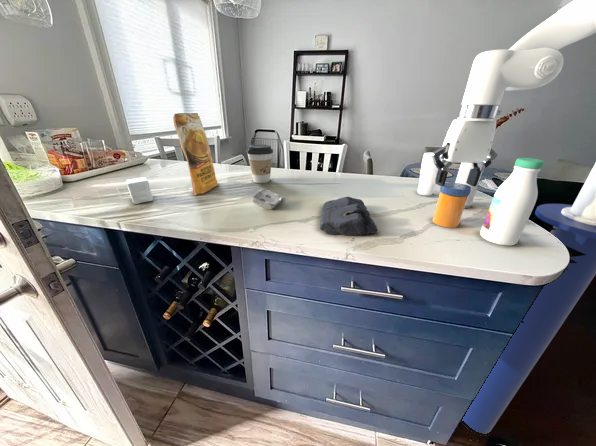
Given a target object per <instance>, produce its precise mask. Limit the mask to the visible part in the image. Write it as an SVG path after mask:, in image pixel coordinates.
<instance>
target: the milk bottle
mask: <svg viewBox="0 0 596 446" xmlns="http://www.w3.org/2000/svg"><path fill="white" fill-rule="evenodd" d="M544 163H545V161H544V160H542V159H538V158H533V157H518V158H516V159H515V163H514V166H513V171H512V172H511V174H510V175H509V176H508V177H507V178H506V179H505V180H504V181H503V182H502V183H501V184H500V185H499V186H498V188H497V190H496V191H495V193H494V195H493V197H492V199H491V201H490V204H489V208H488V209H487V213H486V215H485V218H484V221H483V223H482V226H481V229H480V231H479V234H480V237H481V238H482V239H484V240H486V241H487V242H490V243H492V244H496V245H499V246H507V247H508V246H514V245H516V244H518V242H519V241H520V238H521V236H522V234H523V232H524V230H525V227H526V225H527V223H528V221H529V218H530V216H531V215H532V212H533V210H534V207H535V206H536V202H537V200H538V196H539V195H538V194H539V190H538V182H537V181H538V174H539V172H541V169H542V168H543V166H544Z"/></svg>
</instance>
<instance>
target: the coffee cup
mask: <svg viewBox="0 0 596 446" xmlns="http://www.w3.org/2000/svg"><path fill="white" fill-rule="evenodd" d="M245 151H246V154H247V157H248V162H249V167H250V172H251V176H252V180H253V182H254V183H257V184H265V183H269V182H270V180H271V171H272V158H273V157H272V156H273V153H274V149H273V148H272V147H271V145H270V144H263V143H262V144H261V143H259V144H258V143H257V144H250V145H248V147H247V149H246V150H245Z"/></svg>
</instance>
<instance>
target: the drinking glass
mask: <svg viewBox="0 0 596 446" xmlns="http://www.w3.org/2000/svg"><path fill="white" fill-rule="evenodd" d="M433 152H434V151H432V152H431V151H428V152H427V151H426V152H424V153H423V157H422V161H421V165H420V171H419V172H420V173H419V181H418V187H417V193H418V194H419V195H421V196H425V197H426V196H427V197H428V196H432V195H433V194H434V191H435V188H436V185H437V184H436V183H435V179H436V175H437V172H438V169H437V168H436V165H435V164H434V162H433V159H432V156H431V154H432V153H433ZM440 160H441V161H442V160H443V159H441V158H440Z"/></svg>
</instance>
